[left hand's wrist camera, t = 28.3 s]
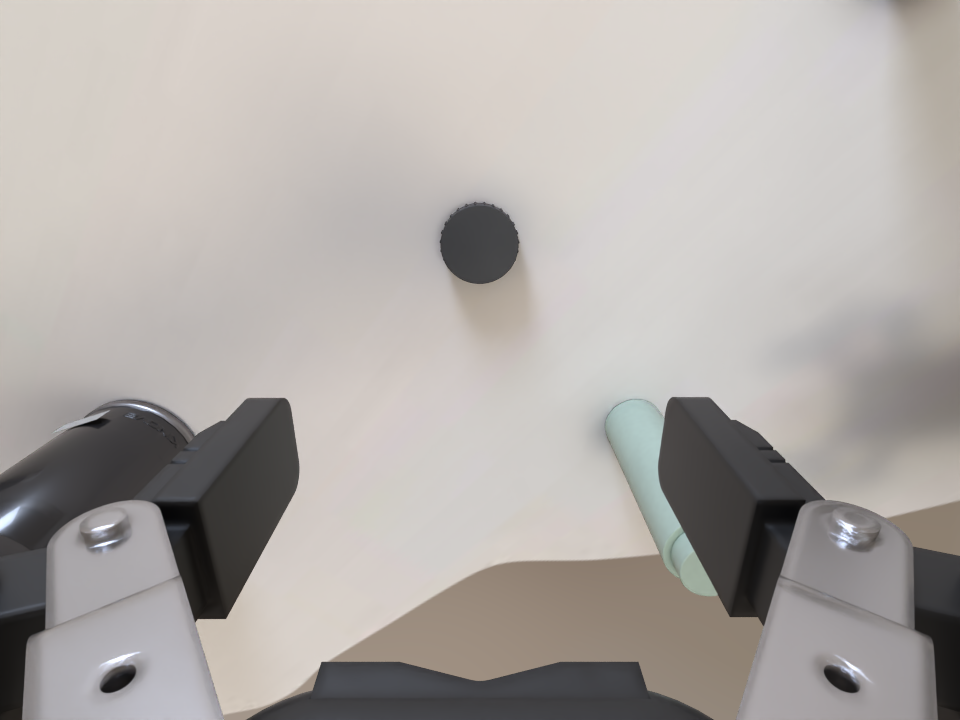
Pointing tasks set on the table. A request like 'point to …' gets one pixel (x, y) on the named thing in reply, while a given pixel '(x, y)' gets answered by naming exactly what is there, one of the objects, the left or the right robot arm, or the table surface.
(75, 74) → the table surface
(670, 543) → the jar
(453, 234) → the lid
